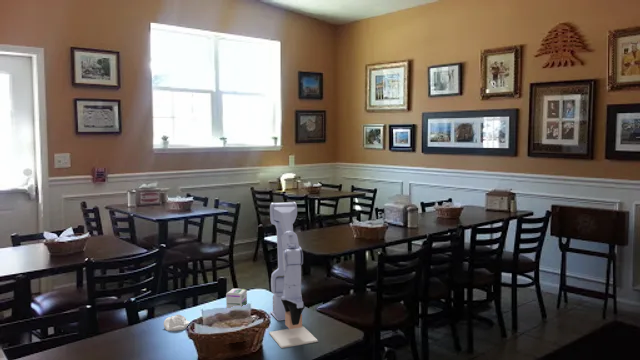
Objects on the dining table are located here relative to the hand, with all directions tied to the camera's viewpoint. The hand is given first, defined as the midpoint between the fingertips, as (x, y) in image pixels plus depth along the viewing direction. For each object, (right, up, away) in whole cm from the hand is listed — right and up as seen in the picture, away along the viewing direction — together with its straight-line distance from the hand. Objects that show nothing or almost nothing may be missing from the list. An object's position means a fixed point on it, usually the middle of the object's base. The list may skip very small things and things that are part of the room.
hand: (292, 321), depth 175 cm
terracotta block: (0, -2, 0) cm, 2 cm away
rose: (-43, -5, +11) cm, 44 cm away
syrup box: (-20, -5, +7) cm, 22 cm away
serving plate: (0, -6, +1) cm, 6 cm away
